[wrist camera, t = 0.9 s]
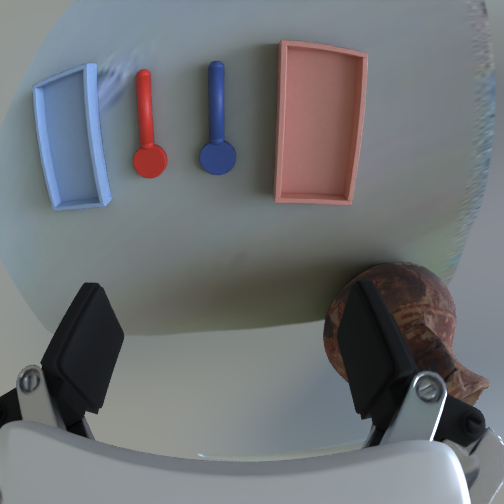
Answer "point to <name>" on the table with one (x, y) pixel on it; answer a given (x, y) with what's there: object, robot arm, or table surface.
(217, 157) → the navy spoon
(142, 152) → the red spoon
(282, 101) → the rose tray
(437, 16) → the table surface
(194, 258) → the table surface
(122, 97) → the table surface
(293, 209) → the table surface
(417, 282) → the jug
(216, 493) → the robot arm
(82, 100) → the blue tray
